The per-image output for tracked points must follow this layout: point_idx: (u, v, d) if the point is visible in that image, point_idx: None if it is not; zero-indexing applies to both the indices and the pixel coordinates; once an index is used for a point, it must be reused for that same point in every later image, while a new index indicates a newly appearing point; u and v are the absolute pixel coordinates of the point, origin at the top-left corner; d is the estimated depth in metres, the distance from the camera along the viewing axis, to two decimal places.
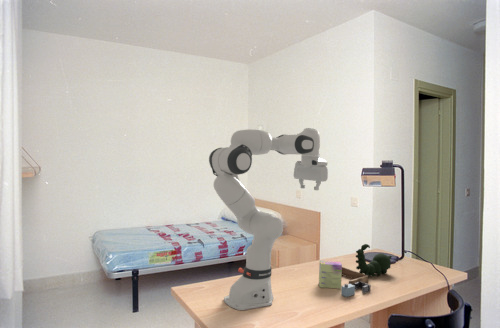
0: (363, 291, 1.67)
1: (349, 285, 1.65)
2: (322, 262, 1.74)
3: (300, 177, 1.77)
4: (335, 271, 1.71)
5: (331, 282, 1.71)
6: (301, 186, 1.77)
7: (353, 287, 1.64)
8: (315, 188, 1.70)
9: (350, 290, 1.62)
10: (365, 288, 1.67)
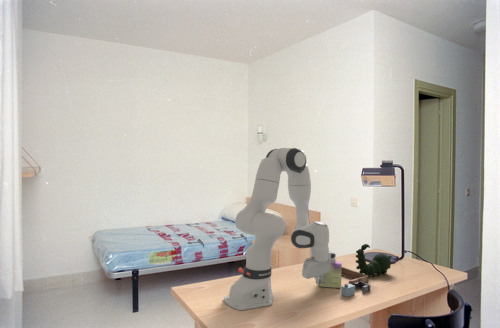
0: (363, 291, 1.67)
1: (349, 285, 1.65)
2: None
3: (315, 275, 1.66)
4: (335, 270, 1.71)
5: (331, 281, 1.72)
6: (319, 282, 1.69)
7: (353, 287, 1.64)
8: (321, 282, 1.70)
9: (350, 290, 1.62)
10: (365, 288, 1.67)
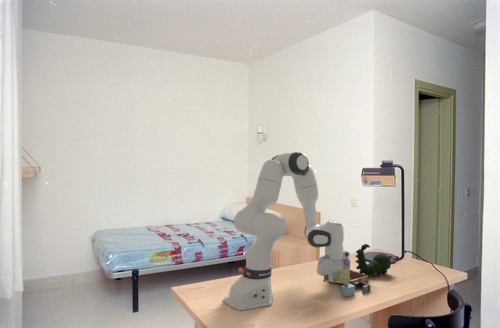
0: (363, 291, 1.67)
1: (349, 285, 1.65)
2: None
3: (329, 272, 1.71)
4: (343, 266, 1.77)
5: (339, 277, 1.76)
6: (333, 279, 1.74)
7: (353, 287, 1.64)
8: (334, 279, 1.75)
9: (350, 290, 1.62)
10: (365, 288, 1.67)
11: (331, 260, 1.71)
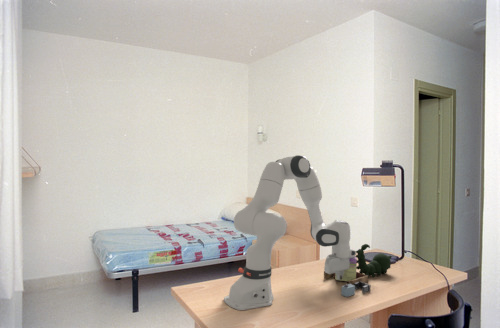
0: (363, 291, 1.67)
1: (349, 285, 1.65)
2: None
3: (336, 271, 1.74)
4: (350, 264, 1.80)
5: (346, 276, 1.80)
6: (340, 278, 1.77)
7: (353, 287, 1.64)
8: (341, 277, 1.78)
9: (350, 290, 1.62)
10: (365, 288, 1.67)
11: (338, 259, 1.75)
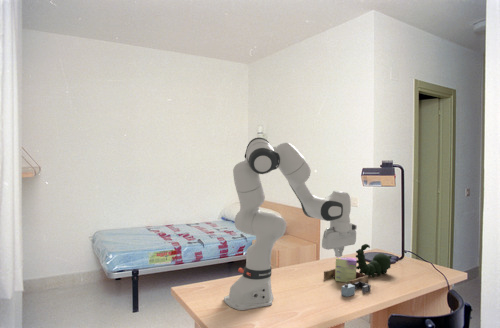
0: (363, 291, 1.67)
1: (349, 285, 1.65)
2: (338, 257, 1.83)
3: (335, 246, 1.56)
4: (350, 266, 1.79)
5: (346, 277, 1.80)
6: (339, 255, 1.59)
7: (353, 287, 1.64)
8: (341, 254, 1.60)
9: (350, 290, 1.62)
10: (365, 288, 1.67)
11: (337, 233, 1.57)
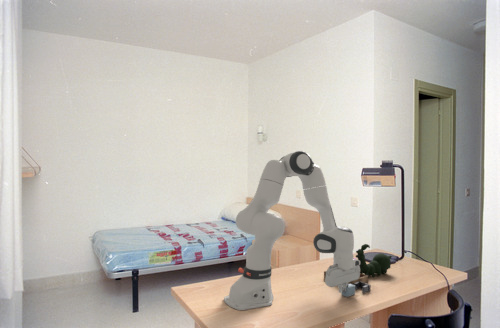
0: (363, 291, 1.67)
1: (349, 285, 1.65)
2: None
3: (339, 283, 1.57)
4: None
5: None
6: (342, 291, 1.60)
7: (353, 286, 1.64)
8: (344, 290, 1.61)
9: (350, 290, 1.63)
10: (365, 288, 1.67)
11: (340, 270, 1.57)
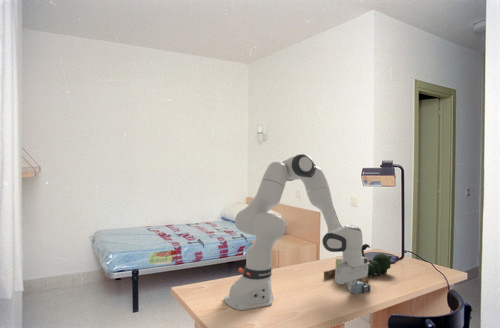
0: (363, 291, 1.67)
1: (358, 282, 1.68)
2: (338, 257, 1.83)
3: (348, 280, 1.61)
4: None
5: None
6: (351, 288, 1.64)
7: (362, 284, 1.67)
8: (353, 287, 1.65)
9: (359, 288, 1.66)
10: (365, 288, 1.67)
11: (350, 267, 1.61)
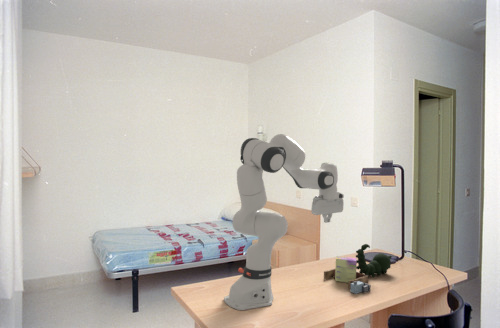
0: (363, 291, 1.67)
1: (358, 282, 1.68)
2: (338, 257, 1.83)
3: (323, 212, 1.73)
4: (350, 266, 1.79)
5: (346, 277, 1.80)
6: (327, 220, 1.76)
7: (362, 284, 1.67)
8: (329, 220, 1.77)
9: (359, 288, 1.66)
10: (365, 288, 1.67)
11: (325, 200, 1.73)
